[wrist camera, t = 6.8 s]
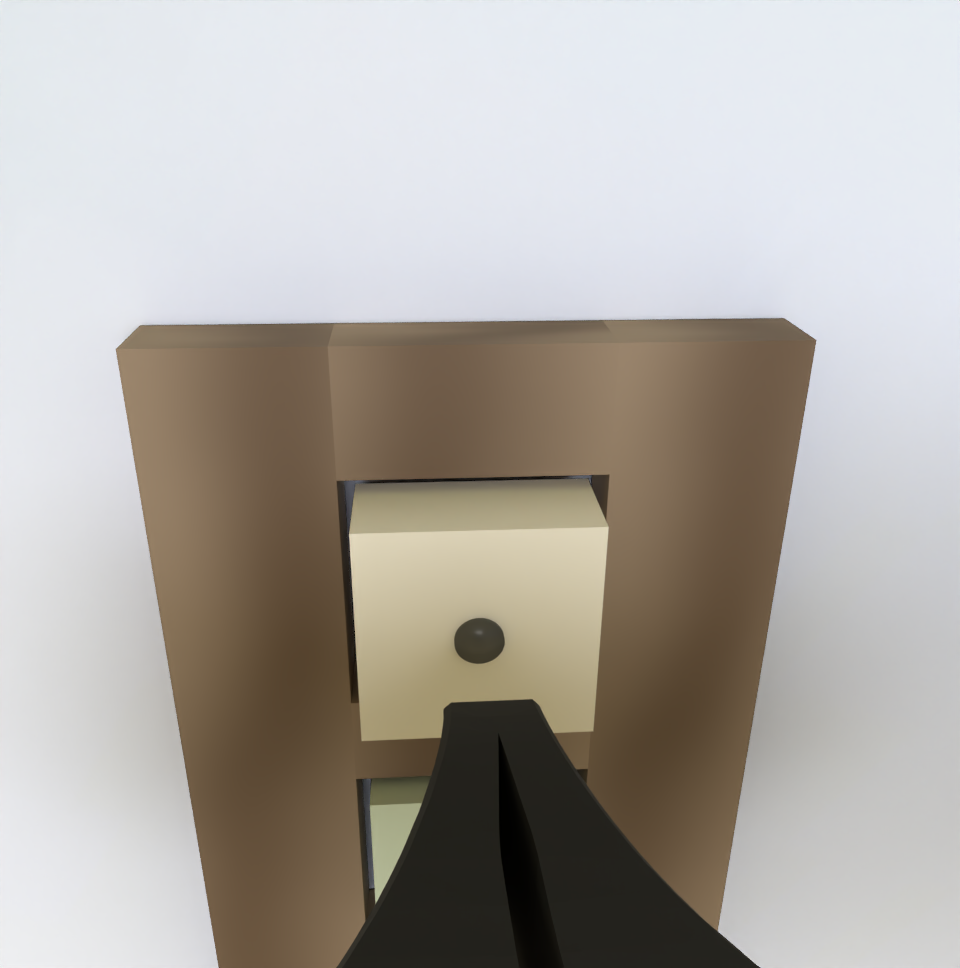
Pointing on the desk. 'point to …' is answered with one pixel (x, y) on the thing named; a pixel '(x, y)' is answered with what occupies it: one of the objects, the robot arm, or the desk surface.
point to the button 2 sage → (392, 821)
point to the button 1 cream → (476, 600)
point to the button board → (452, 454)
